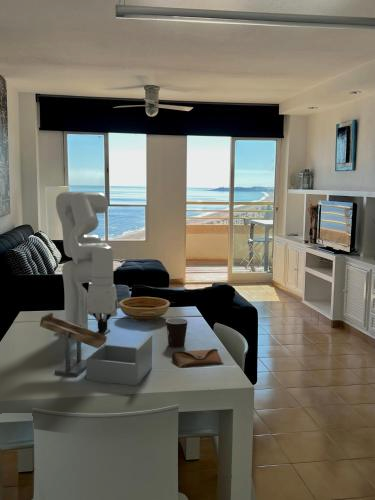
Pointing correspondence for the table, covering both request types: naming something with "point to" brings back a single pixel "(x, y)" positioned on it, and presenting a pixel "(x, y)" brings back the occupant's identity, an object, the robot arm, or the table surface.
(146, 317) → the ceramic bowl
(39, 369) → the table surface
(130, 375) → the bin
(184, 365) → the sunglasses case
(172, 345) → the coffee mug
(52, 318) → the chute
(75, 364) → the launcher stand
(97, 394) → the table surface
